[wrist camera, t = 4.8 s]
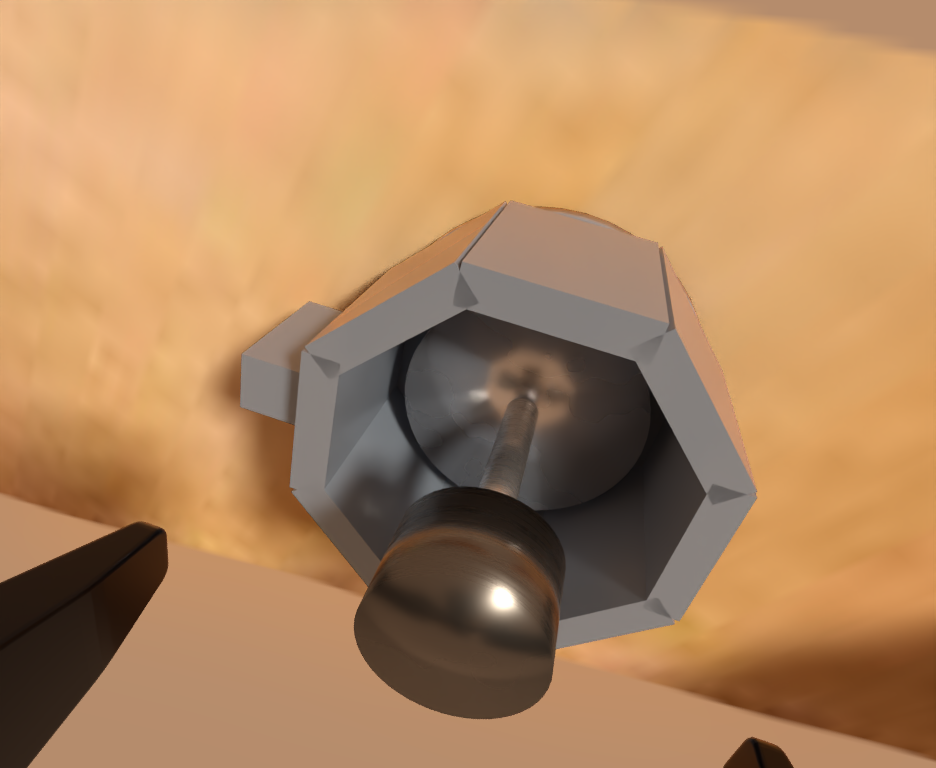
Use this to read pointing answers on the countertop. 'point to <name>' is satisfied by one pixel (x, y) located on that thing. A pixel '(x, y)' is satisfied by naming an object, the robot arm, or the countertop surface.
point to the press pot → (551, 312)
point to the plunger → (495, 510)
